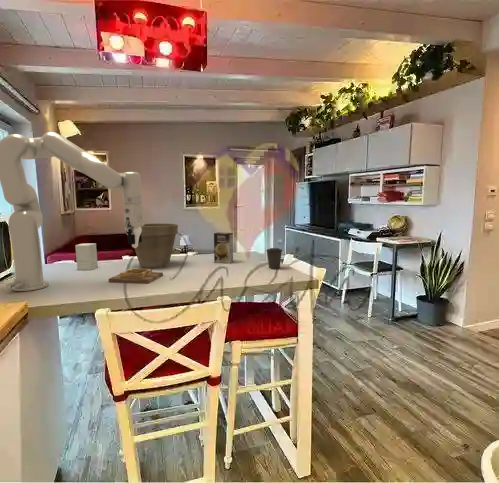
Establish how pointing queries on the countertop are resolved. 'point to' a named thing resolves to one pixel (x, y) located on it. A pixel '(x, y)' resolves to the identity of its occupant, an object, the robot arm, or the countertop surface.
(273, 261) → the coffee cup
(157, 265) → the plant pot
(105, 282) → the countertop surface
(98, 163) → the robot arm
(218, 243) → the coffee box
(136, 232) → the lightbulb
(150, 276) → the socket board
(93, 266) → the supplement box
